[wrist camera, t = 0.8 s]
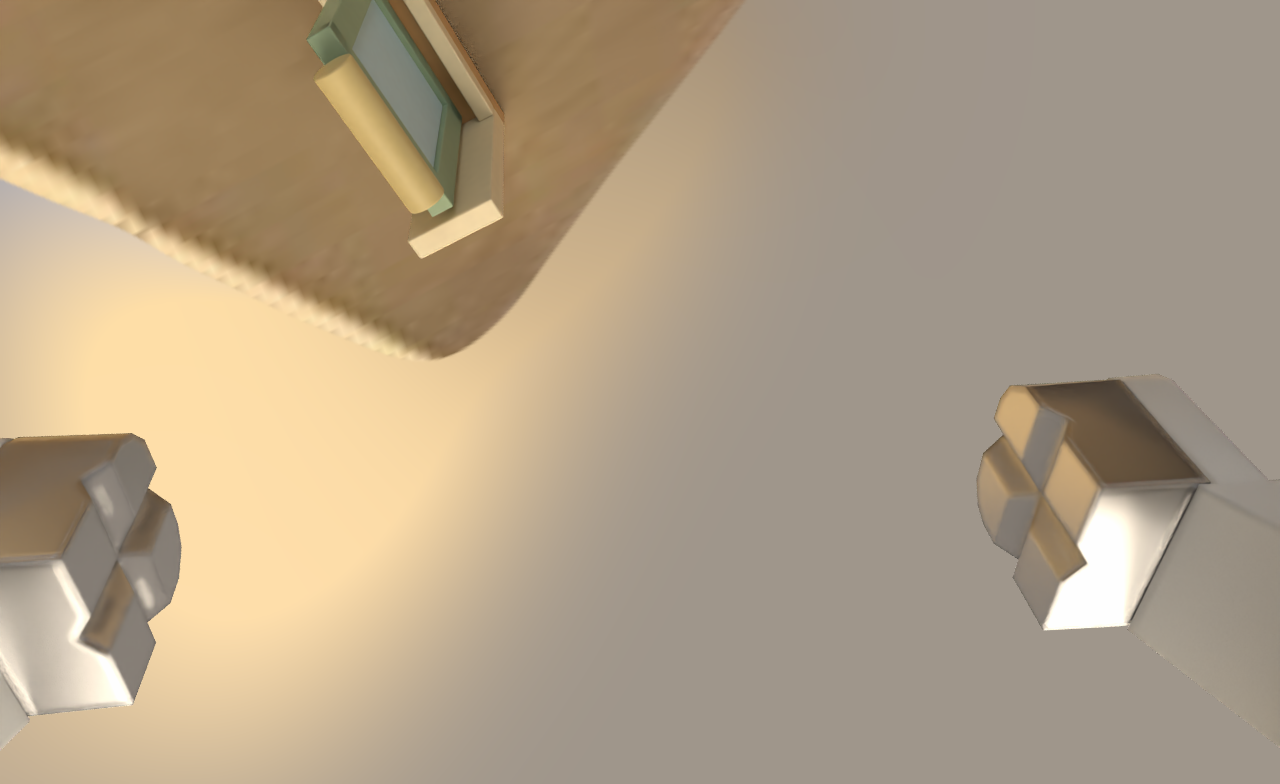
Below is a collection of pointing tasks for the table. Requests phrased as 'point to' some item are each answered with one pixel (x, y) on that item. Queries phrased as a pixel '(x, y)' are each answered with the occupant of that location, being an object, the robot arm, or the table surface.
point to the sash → (389, 100)
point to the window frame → (478, 137)
